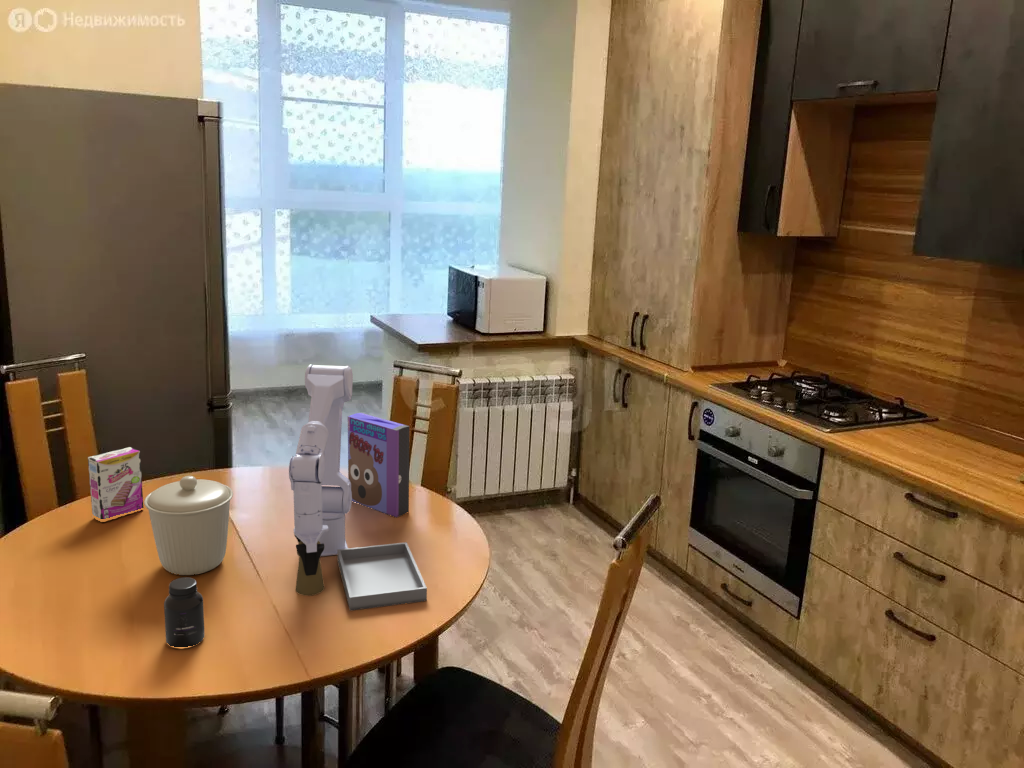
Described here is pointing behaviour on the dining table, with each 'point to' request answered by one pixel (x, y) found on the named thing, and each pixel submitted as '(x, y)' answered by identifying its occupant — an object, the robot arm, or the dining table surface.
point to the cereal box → (379, 463)
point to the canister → (190, 524)
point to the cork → (309, 579)
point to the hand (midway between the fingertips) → (309, 568)
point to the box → (380, 576)
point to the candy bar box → (115, 482)
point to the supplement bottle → (184, 613)
